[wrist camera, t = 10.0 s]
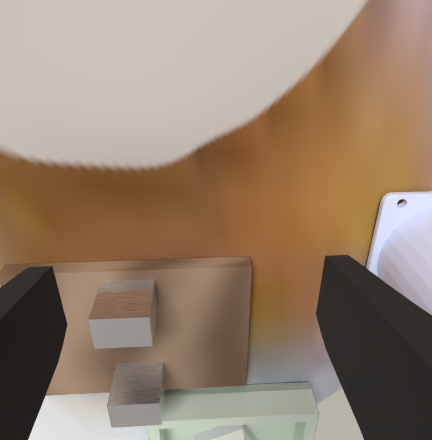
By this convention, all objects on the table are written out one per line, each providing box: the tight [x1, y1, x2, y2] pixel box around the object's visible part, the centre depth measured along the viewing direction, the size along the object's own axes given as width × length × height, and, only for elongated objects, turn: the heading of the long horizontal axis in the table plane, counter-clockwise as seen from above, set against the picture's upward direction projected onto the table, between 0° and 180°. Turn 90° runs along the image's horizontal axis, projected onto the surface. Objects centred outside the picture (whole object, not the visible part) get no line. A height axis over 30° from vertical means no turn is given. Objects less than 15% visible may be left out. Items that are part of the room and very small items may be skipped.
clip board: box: [0, 256, 252, 427], centre depth 23 cm, size 14×10×4 cm
